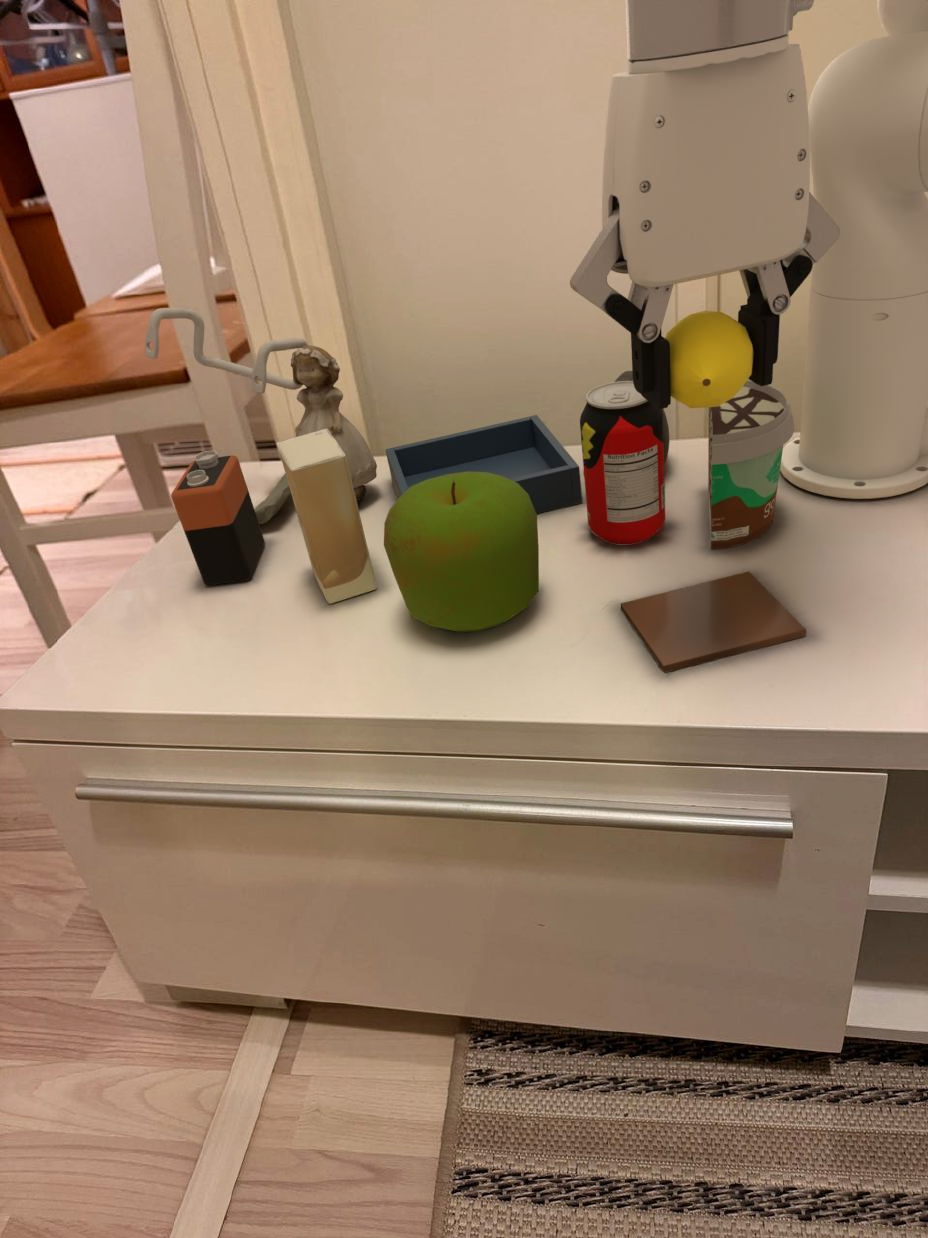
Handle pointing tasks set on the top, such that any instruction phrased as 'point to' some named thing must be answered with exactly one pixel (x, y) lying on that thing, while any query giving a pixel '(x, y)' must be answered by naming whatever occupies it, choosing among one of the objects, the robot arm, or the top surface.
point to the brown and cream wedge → (745, 463)
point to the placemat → (710, 621)
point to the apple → (464, 550)
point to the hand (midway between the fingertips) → (704, 387)
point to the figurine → (330, 412)
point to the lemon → (708, 359)
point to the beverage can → (623, 464)
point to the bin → (495, 461)
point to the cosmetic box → (328, 514)
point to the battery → (218, 518)
